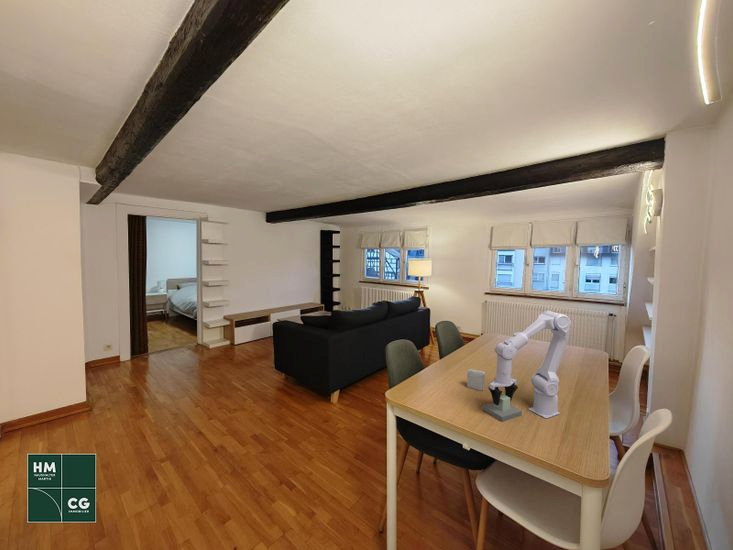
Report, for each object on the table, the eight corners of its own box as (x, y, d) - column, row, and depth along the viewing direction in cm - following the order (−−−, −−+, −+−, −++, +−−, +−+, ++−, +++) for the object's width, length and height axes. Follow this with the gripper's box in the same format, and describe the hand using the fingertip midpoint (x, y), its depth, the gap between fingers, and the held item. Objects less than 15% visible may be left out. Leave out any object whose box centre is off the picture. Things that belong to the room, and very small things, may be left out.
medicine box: (484, 388, 146) (485, 371, 145) (483, 391, 142) (484, 374, 141) (468, 384, 150) (469, 368, 149) (466, 387, 146) (467, 371, 145)
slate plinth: (501, 404, 130) (501, 400, 130) (521, 415, 121) (521, 410, 121) (482, 409, 125) (482, 405, 124) (501, 421, 116) (502, 417, 115)
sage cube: (500, 404, 126) (501, 393, 125) (509, 409, 122) (510, 398, 121) (493, 406, 124) (494, 395, 123) (502, 411, 120) (503, 400, 119)
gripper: (507, 365, 128) (505, 395, 129) (484, 370, 122) (482, 401, 123) (521, 371, 122) (520, 402, 123) (497, 377, 116) (496, 409, 116)
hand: (502, 402), depth 122 cm, fingers open, 7 cm apart
